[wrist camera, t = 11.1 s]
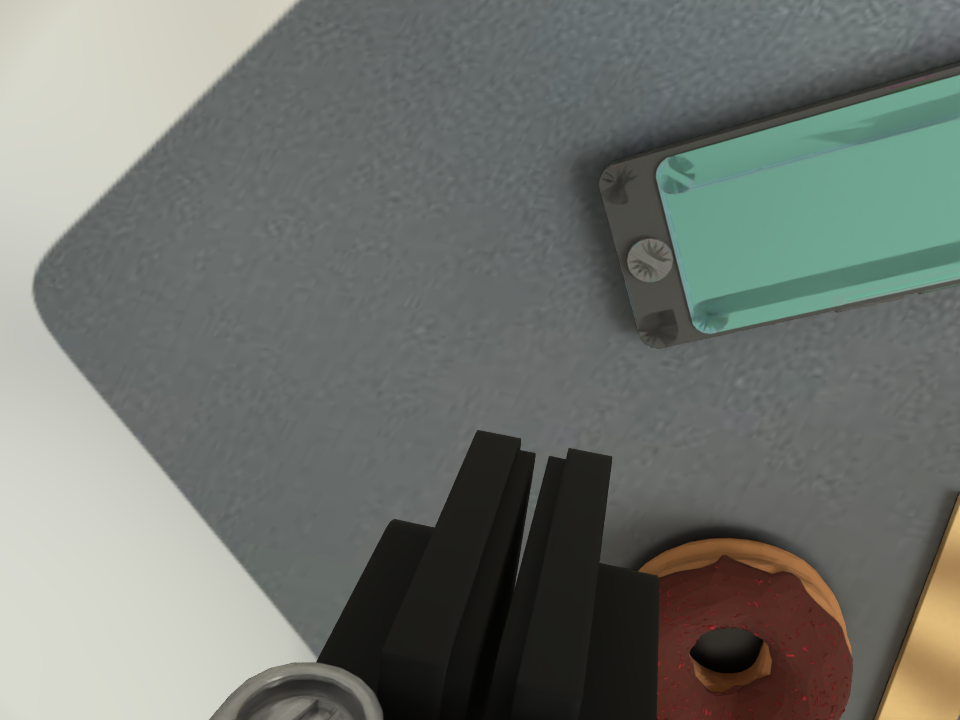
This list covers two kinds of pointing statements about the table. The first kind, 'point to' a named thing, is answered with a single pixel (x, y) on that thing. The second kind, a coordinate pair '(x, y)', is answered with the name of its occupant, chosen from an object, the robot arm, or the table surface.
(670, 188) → the smartphone
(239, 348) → the table surface
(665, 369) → the table surface
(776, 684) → the donut
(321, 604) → the table surface
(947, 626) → the strip
